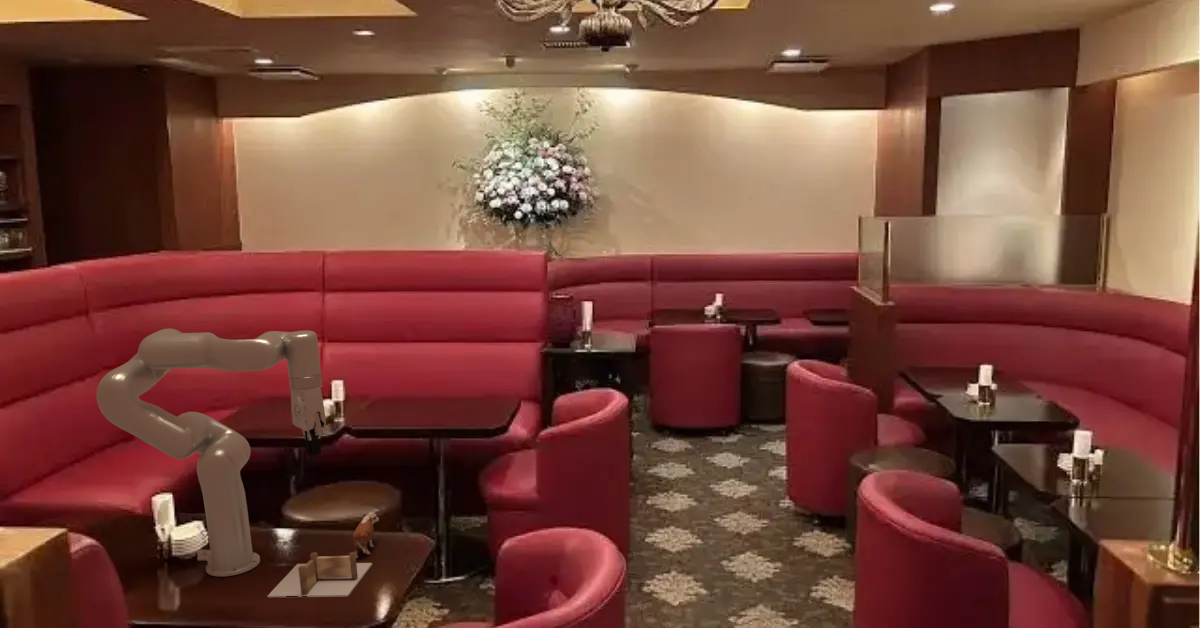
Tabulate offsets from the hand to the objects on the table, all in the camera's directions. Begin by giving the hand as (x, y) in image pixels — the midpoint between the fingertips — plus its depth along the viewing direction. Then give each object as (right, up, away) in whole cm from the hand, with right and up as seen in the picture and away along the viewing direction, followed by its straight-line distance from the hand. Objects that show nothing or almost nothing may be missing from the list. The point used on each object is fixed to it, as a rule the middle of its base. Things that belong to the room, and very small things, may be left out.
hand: (313, 454), depth 233 cm
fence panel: (+8, -28, -9) cm, 30 cm away
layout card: (+4, -29, -8) cm, 30 cm away
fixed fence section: (+3, -30, -12) cm, 32 cm away
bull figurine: (+11, -26, +9) cm, 29 cm away
